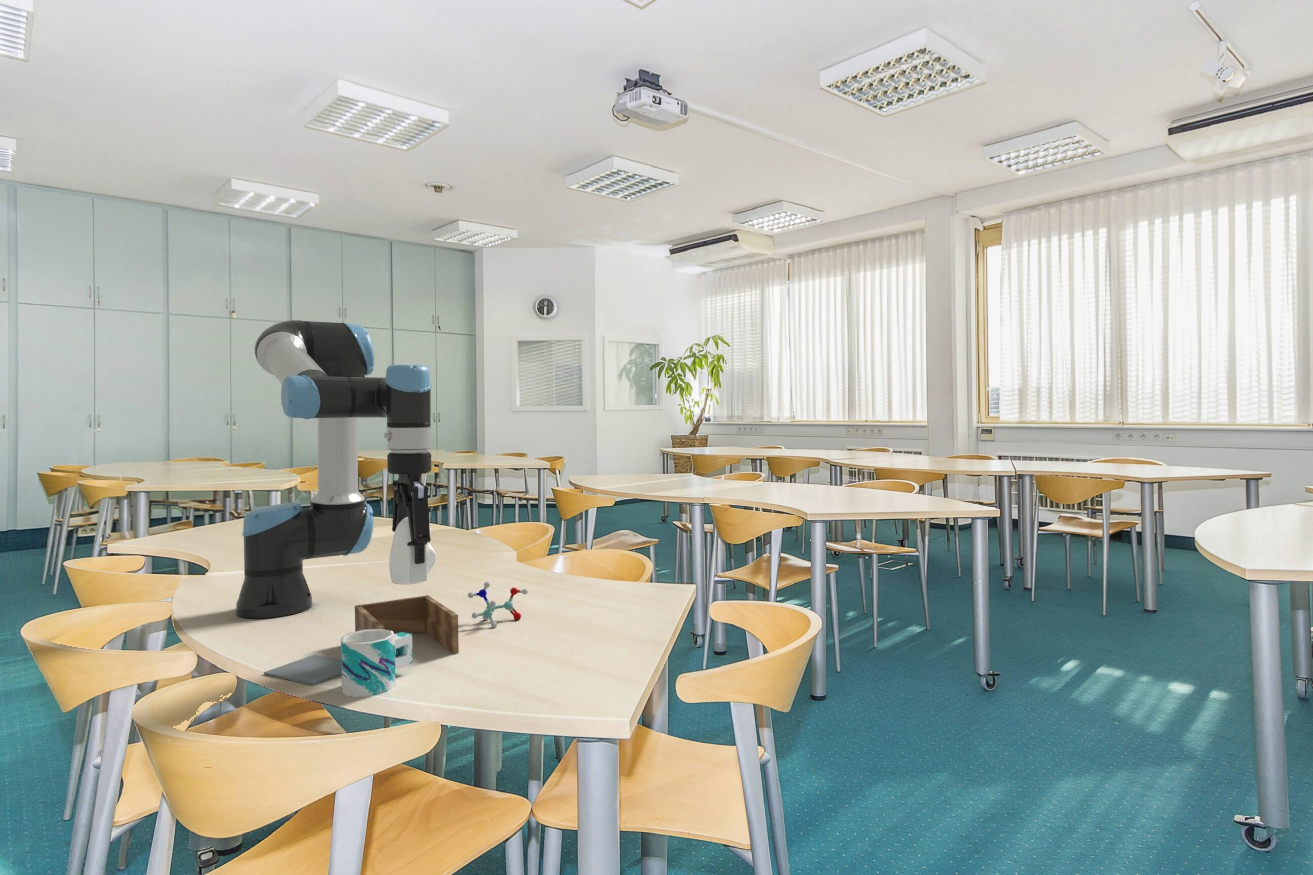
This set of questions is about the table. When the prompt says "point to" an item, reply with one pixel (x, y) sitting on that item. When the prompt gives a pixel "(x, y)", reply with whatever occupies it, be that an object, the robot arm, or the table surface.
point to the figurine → (405, 555)
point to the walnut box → (411, 619)
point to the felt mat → (308, 670)
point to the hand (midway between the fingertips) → (411, 576)
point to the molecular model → (491, 605)
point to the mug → (373, 660)
